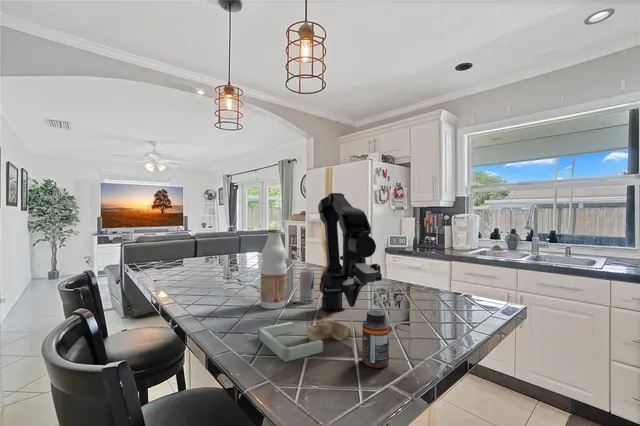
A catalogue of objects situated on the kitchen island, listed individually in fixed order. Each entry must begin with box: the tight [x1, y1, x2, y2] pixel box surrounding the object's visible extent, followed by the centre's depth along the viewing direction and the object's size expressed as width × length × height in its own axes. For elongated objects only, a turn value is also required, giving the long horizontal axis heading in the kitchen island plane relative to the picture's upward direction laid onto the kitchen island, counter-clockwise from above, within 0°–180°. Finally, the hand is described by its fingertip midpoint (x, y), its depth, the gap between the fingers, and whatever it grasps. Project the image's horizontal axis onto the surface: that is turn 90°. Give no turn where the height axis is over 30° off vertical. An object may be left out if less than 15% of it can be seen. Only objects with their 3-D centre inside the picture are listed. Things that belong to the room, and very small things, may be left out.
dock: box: [257, 321, 324, 363], centre depth 78 cm, size 10×16×2 cm, turn 33°
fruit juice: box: [260, 229, 288, 310], centre depth 113 cm, size 9×9×28 cm
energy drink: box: [299, 269, 315, 305], centre depth 118 cm, size 5×5×12 cm
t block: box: [307, 317, 349, 342], centre depth 84 cm, size 9×9×3 cm
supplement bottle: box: [361, 309, 390, 369], centre depth 69 cm, size 6×6×11 cm
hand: (351, 306), depth 90 cm, fingers closed
